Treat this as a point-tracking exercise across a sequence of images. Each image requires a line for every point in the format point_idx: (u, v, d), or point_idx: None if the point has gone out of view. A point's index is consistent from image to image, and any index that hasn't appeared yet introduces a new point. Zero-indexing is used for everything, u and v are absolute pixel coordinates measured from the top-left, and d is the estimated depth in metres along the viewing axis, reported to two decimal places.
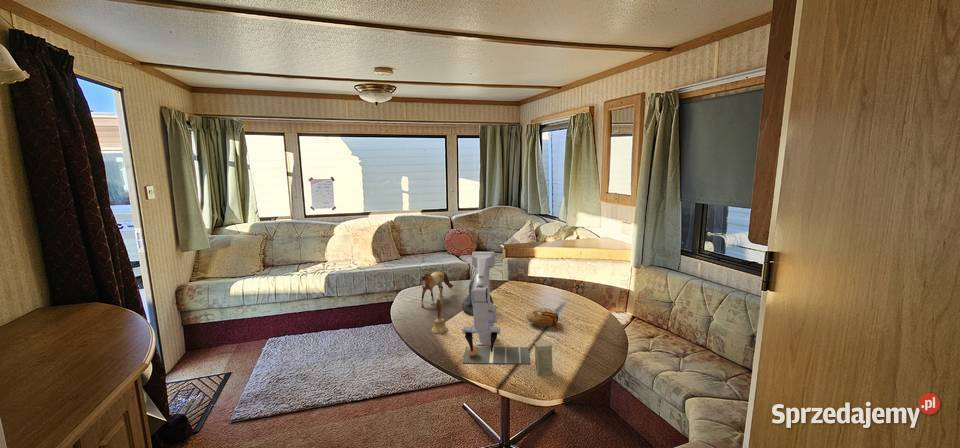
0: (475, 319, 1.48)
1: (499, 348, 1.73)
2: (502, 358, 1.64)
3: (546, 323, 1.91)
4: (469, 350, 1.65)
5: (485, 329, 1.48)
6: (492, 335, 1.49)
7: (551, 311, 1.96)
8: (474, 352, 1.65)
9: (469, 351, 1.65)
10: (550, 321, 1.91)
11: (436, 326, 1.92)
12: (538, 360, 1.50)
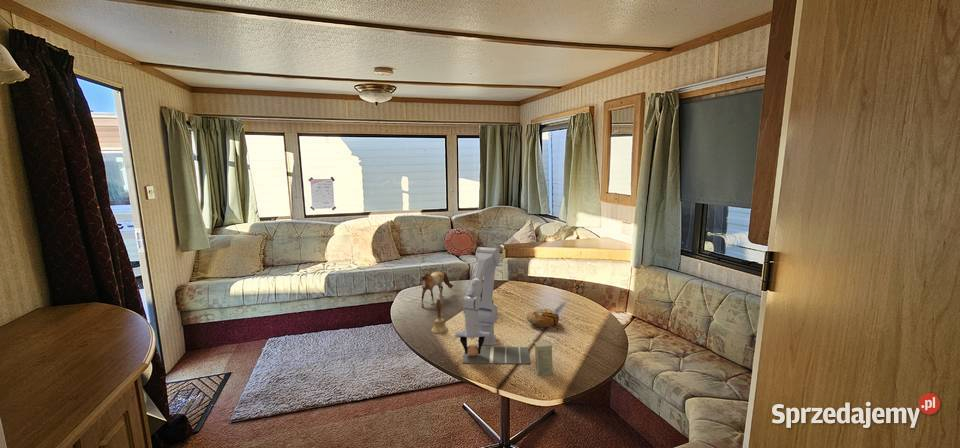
0: (467, 325, 1.63)
1: (499, 348, 1.73)
2: (502, 358, 1.64)
3: (547, 324, 1.91)
4: (469, 350, 1.65)
5: (476, 334, 1.63)
6: (482, 339, 1.64)
7: (551, 312, 1.95)
8: (474, 352, 1.65)
9: (469, 351, 1.65)
10: (550, 322, 1.90)
11: (436, 326, 1.92)
12: (538, 360, 1.50)
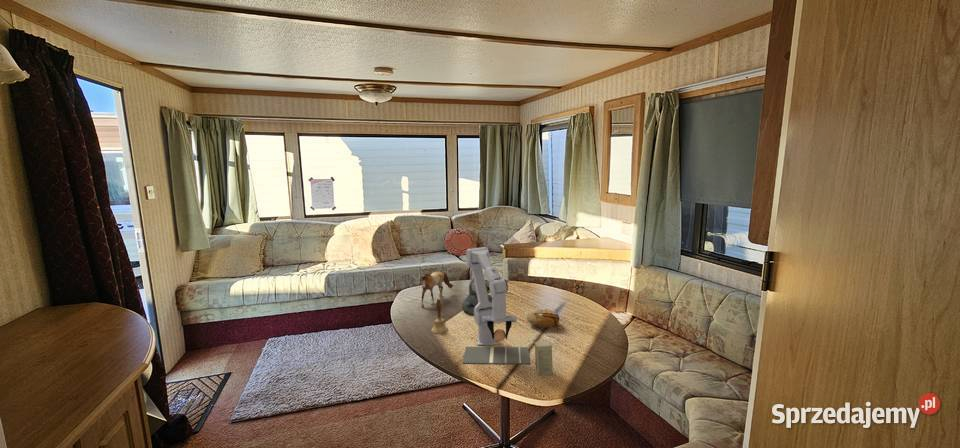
0: (494, 309, 1.61)
1: (499, 348, 1.73)
2: (502, 358, 1.64)
3: (548, 324, 1.90)
4: (496, 335, 1.63)
5: (503, 318, 1.61)
6: (509, 323, 1.62)
7: (552, 312, 1.94)
8: (501, 337, 1.63)
9: (496, 336, 1.63)
10: (551, 322, 1.89)
11: (436, 326, 1.92)
12: (538, 360, 1.50)
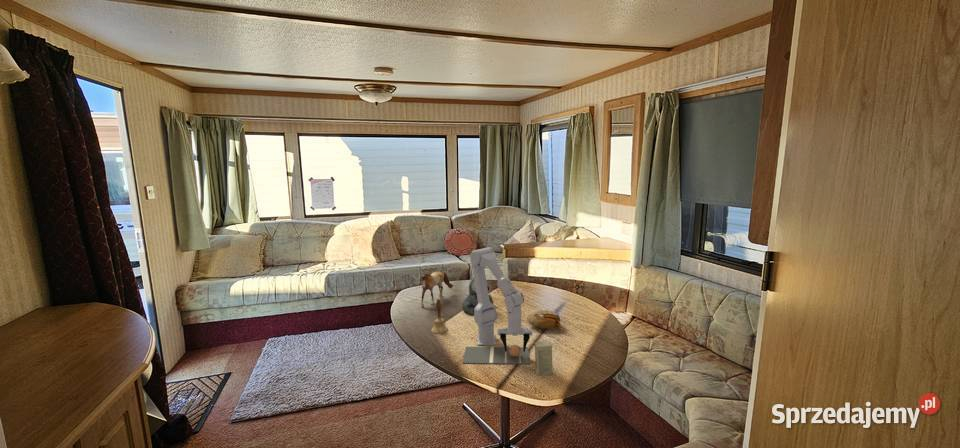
0: (510, 322, 1.62)
1: (499, 348, 1.73)
2: (502, 358, 1.64)
3: (549, 325, 1.89)
4: (512, 350, 1.64)
5: (519, 331, 1.62)
6: (525, 336, 1.63)
7: (552, 313, 1.94)
8: (517, 352, 1.63)
9: (512, 351, 1.64)
10: (552, 323, 1.88)
11: (436, 326, 1.92)
12: (538, 360, 1.50)
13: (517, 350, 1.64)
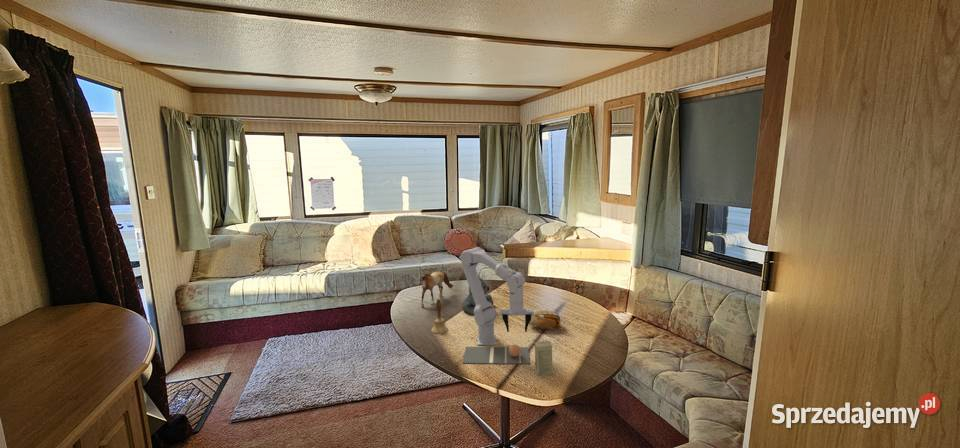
0: (512, 302, 1.64)
1: (499, 348, 1.73)
2: (502, 358, 1.64)
3: (549, 326, 1.88)
4: (511, 351, 1.64)
5: (520, 311, 1.65)
6: (527, 317, 1.65)
7: (553, 313, 1.93)
8: (517, 352, 1.63)
9: (511, 352, 1.64)
10: (553, 324, 1.88)
11: (436, 326, 1.92)
12: (538, 360, 1.50)
13: (517, 350, 1.64)
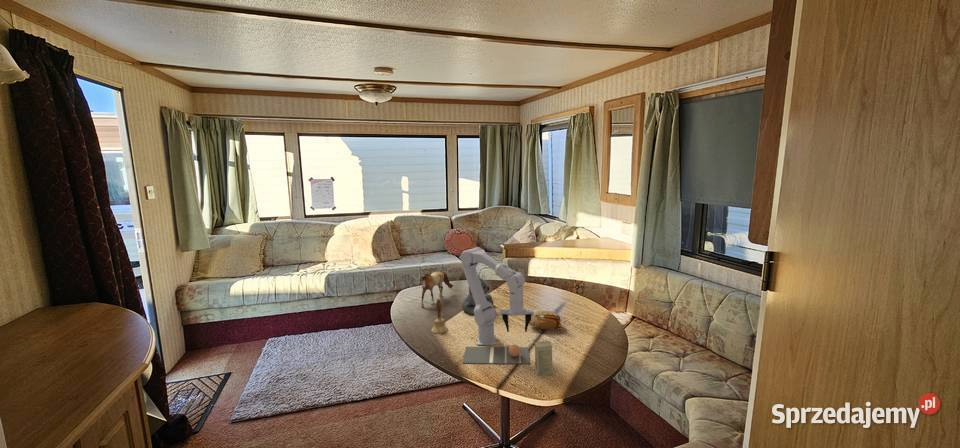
0: (512, 302, 1.64)
1: (499, 348, 1.73)
2: (502, 358, 1.64)
3: (550, 326, 1.88)
4: (511, 351, 1.64)
5: (520, 311, 1.65)
6: (527, 317, 1.65)
7: (553, 313, 1.93)
8: (516, 352, 1.63)
9: (511, 352, 1.64)
10: (554, 324, 1.88)
11: (436, 326, 1.92)
12: (538, 360, 1.50)
13: (517, 350, 1.64)
